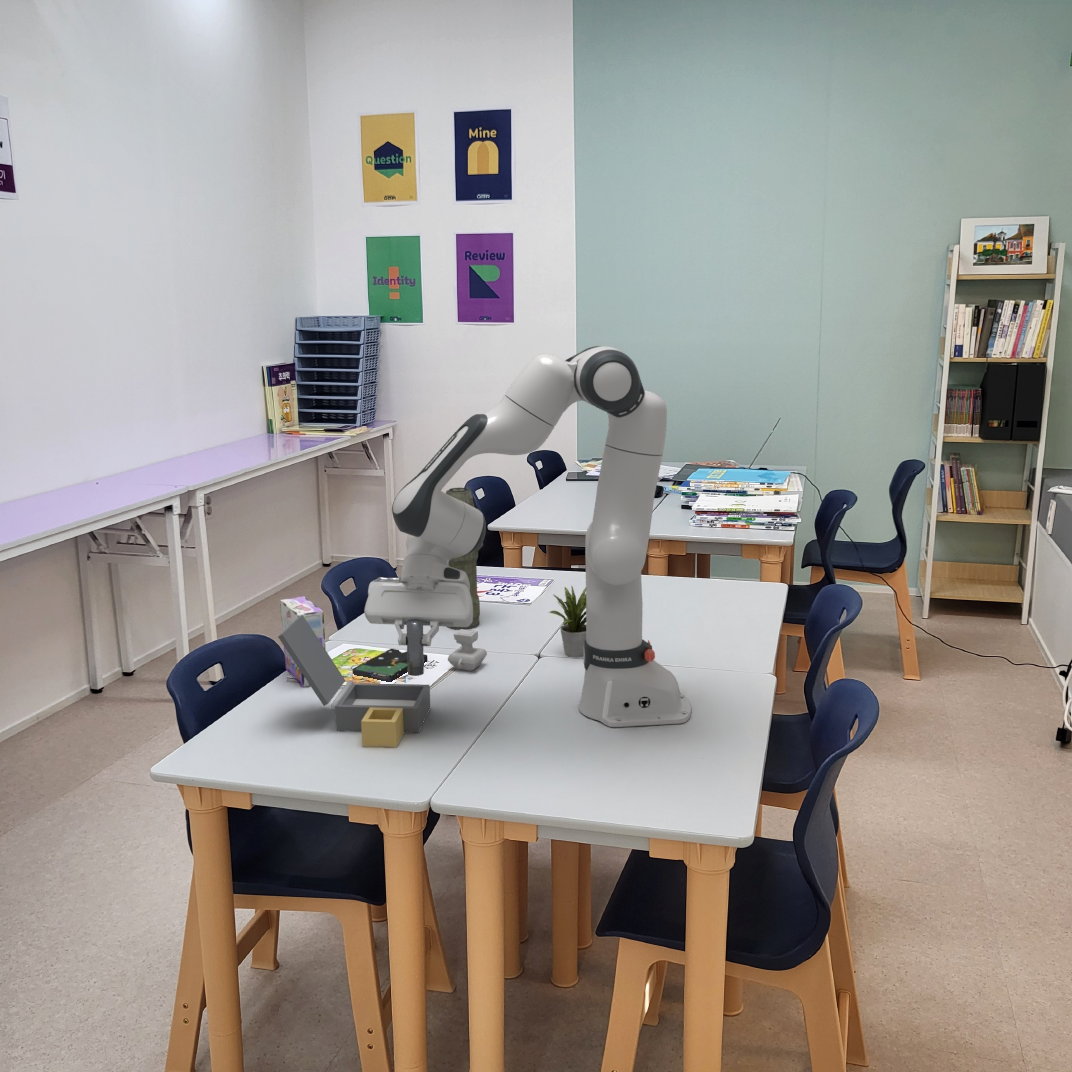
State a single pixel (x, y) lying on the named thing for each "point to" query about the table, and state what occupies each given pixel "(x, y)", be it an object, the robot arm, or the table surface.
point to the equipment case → (381, 703)
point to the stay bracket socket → (382, 727)
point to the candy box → (314, 618)
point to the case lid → (312, 659)
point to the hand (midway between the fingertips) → (414, 644)
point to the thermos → (467, 561)
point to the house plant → (573, 623)
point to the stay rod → (415, 647)
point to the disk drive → (385, 666)
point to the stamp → (467, 651)
